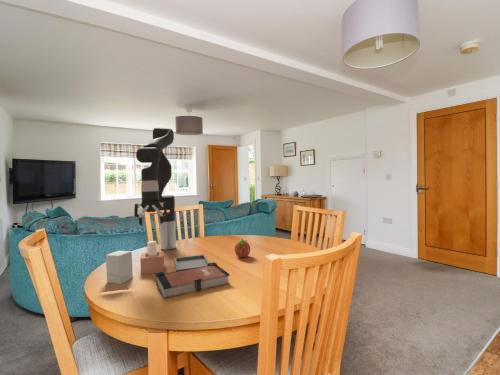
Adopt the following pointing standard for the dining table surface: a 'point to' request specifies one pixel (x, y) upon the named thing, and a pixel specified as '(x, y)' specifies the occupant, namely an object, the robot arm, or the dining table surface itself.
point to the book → (191, 280)
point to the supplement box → (119, 266)
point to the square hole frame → (152, 263)
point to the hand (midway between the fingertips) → (151, 224)
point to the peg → (152, 248)
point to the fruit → (242, 248)
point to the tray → (190, 262)
